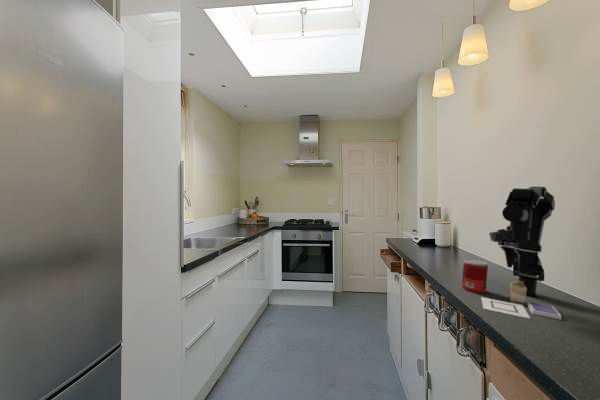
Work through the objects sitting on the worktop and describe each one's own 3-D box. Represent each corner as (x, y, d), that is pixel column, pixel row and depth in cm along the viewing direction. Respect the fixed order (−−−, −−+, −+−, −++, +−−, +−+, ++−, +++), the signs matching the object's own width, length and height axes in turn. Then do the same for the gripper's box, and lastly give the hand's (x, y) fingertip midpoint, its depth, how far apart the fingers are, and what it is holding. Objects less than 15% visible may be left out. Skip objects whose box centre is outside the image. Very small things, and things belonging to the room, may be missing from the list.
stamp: (508, 298, 105) (510, 278, 105) (523, 301, 103) (525, 281, 103) (510, 302, 101) (512, 282, 101) (525, 305, 99) (527, 284, 99)
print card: (481, 297, 104) (481, 296, 104) (522, 306, 98) (522, 304, 98) (483, 309, 94) (483, 308, 94) (530, 319, 88) (530, 317, 88)
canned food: (489, 294, 108) (491, 265, 108) (465, 291, 110) (468, 263, 110) (480, 287, 116) (483, 260, 115) (459, 285, 117) (461, 258, 117)
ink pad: (526, 304, 100) (526, 300, 100) (552, 309, 96) (553, 305, 96) (532, 313, 92) (532, 309, 92) (561, 319, 89) (561, 315, 88)
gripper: (485, 221, 112) (480, 261, 111) (503, 220, 94) (498, 268, 93) (518, 225, 109) (513, 267, 108) (545, 226, 91) (539, 275, 90)
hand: (514, 269), depth 100 cm, fingers open, 9 cm apart
